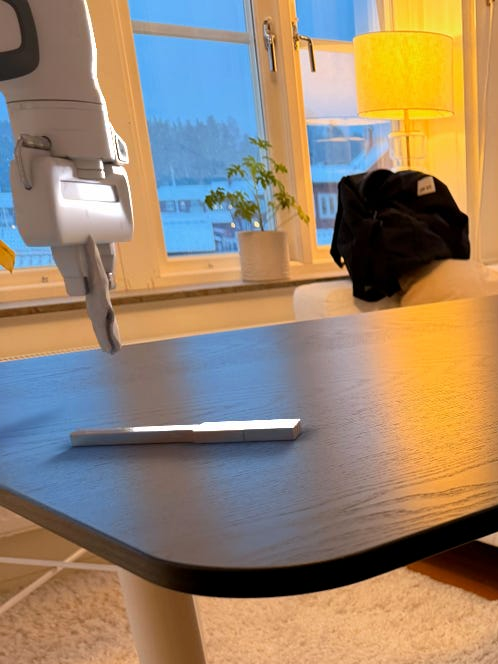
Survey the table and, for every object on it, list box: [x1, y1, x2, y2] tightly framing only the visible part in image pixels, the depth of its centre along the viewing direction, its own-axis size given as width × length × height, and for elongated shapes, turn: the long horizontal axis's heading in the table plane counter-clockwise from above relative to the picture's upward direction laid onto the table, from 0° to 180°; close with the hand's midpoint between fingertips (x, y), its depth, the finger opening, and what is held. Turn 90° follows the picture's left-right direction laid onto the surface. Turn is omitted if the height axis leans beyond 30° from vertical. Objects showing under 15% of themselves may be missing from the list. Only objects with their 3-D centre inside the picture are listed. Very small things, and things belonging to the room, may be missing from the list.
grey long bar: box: [69, 418, 302, 447], centre depth 70 cm, size 18×3×1 cm, turn 90°
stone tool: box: [78, 234, 122, 356], centre depth 91 cm, size 9×3×15 cm, turn 37°
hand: (93, 293), depth 92 cm, fingers closed on stone tool, 6 cm apart
